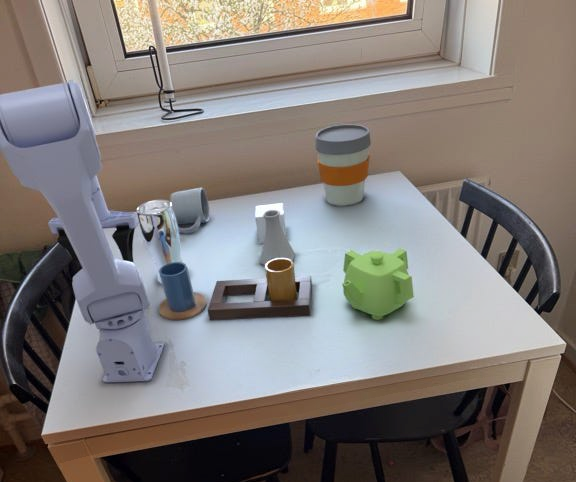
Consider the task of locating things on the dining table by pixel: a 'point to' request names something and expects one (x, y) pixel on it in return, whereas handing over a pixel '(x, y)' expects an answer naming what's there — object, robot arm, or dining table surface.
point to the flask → (275, 239)
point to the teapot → (377, 281)
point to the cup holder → (258, 300)
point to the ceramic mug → (190, 208)
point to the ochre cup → (281, 279)
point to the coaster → (192, 312)
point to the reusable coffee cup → (343, 162)
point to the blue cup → (177, 286)
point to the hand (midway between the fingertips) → (109, 267)
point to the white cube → (262, 223)
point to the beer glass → (160, 232)
